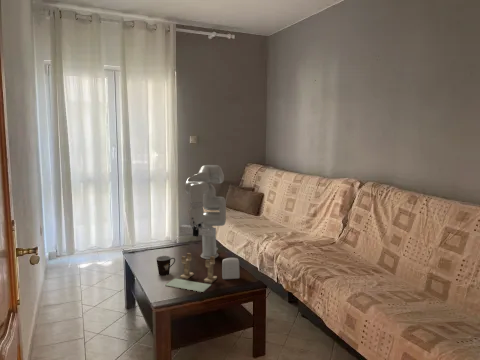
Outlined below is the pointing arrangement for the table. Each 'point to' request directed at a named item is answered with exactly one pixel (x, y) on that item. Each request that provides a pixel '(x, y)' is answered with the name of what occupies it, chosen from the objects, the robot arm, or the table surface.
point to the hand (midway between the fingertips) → (197, 234)
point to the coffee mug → (164, 265)
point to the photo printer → (230, 268)
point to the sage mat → (188, 285)
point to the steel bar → (201, 230)
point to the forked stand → (207, 263)
